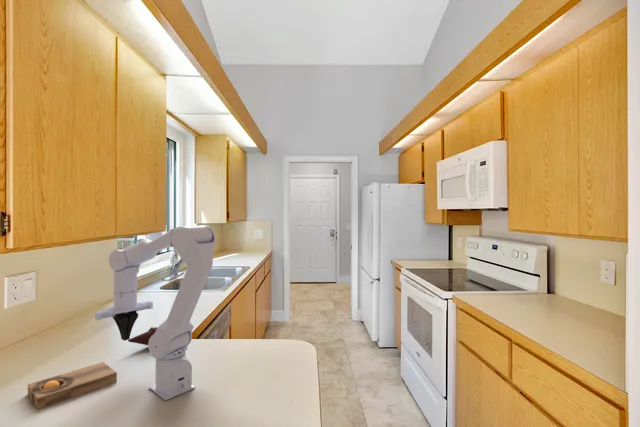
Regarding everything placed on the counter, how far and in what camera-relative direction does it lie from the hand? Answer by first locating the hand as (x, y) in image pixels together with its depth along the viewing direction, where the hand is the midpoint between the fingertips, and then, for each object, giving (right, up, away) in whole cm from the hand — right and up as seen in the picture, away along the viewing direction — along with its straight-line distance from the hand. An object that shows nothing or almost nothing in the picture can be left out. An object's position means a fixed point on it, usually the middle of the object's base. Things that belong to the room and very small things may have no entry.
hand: (125, 339), depth 97 cm
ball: (-13, -9, -10) cm, 19 cm away
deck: (-10, -10, -7) cm, 16 cm away
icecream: (-2, -10, +20) cm, 23 cm away
